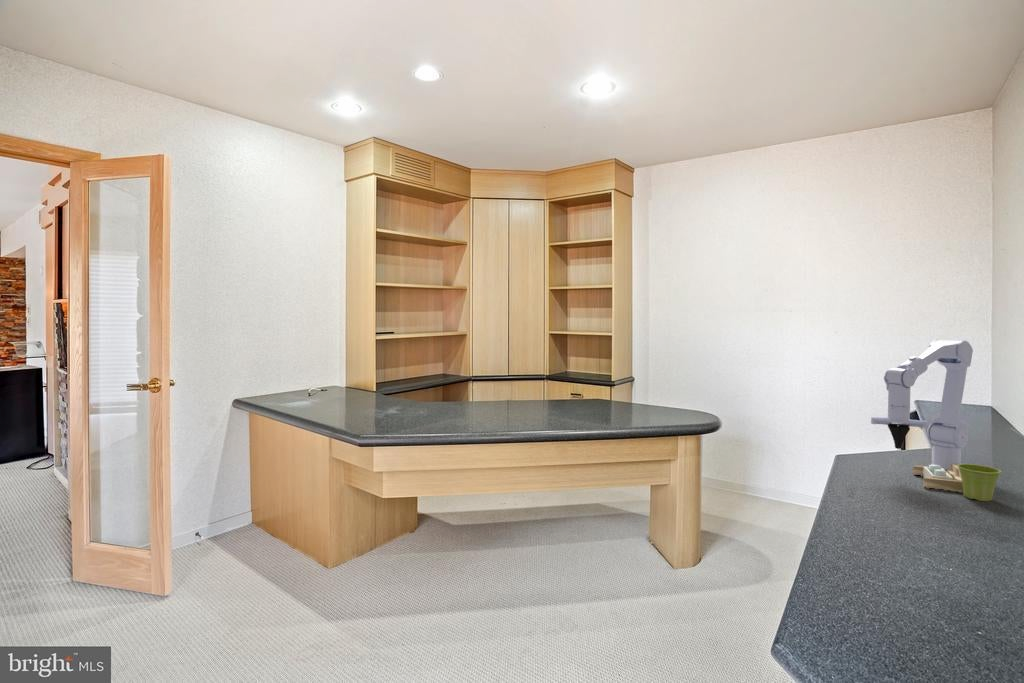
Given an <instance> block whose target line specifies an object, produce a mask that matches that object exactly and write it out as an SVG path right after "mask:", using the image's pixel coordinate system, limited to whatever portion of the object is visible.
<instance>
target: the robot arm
mask: <svg viewBox="0 0 1024 683" xmlns="http://www.w3.org/2000/svg"><path fill="white" fill-rule="evenodd" d="M973 353H974V350H973V347H972V345H971V343H970V342H969V341H967V340H940V339H934V340H933V341H931V342H930V343H929V344H928V348H927V349H926V350H925V351H924V352H923V353H922V354H920V355H919V356H910V357H908V359H907V360H905V361H904V362H903V363H901V364H899V365H898V366H897V367H891V368H889V369H887V370H886V371H885V374H884V376H883V381H884V383H885V385H886V386H885V387H886V388H885V389H886V390H887V391H888V393H887V394H888V396H887V397H888V398H887V417H874V416H873V417H870V419H871V420H870V423H871V424H872V425H887V427H888V430H889V432H890V434H891V436H892V439H893V443H894V448H895V449H899V450H901V449H902V447H903V442H904V440H905V438H906V436H907V435H908V433H909V432H910V429H911V428H910V427H914V428H915V427H917V428H924V429H926V436H927V439H928V440H929V441H930V444H932V448H931V464H934V465H939V466H941V468H945V469H950V463H956V464H961V463H962V462H961V459H962V458H961V455H962V454H961V452H962V448H964V447H965V445H967V443H968V441H969V438H970V436H969V431H968V430H969V428H968V427H969V425H968V424H967V423H966V422H964V420H962V419H961V418H960V414H961V410H962V409H961V408H962V402H963V397H964V392H965V391H964V389H965V384H966V377H967V372H968V368H969V367H971V366H972V365H971V364H972V360H973V359H972V358H973ZM935 362H937V363H938V364H940V365H941V366H943V367H944V368H945V369H946V373H945V377H944V378H945V379H944V384H943V390H942V396H941V397H942V398H941V403H940V410H939V414H938V415H937V416H935V417H933V418H931V419H930V423H929V426H928V421H927V420H920V419H919V420H918V419H911V387H913V386H914V385H915V383H916V380H918V378H919V376H921V375H923V374H924V373H925V372H926V371H927V370H928V368H929V367H928V366H929V365H931V364H933V363H935ZM928 466H929V467H930V464H928V465H927V467H928Z"/></svg>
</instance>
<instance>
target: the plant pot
mask: <svg viewBox="0 0 1024 683" xmlns="http://www.w3.org/2000/svg"><path fill="white" fill-rule="evenodd" d="M957 467H958V468H959V470H960V473H961V478H962V485H963V492H962V493H963V497H965V498H967V499H970V500H973V499H974V500H977V501H980V502H991V501H992V500H993V497H994V493H995V487H996V484H997V480H998V478H999V476H1000V474H1001V473H1002V471H1001V469H998V468H995V467H992V466H986V465H982V464H971V463H960V464H959V465H957Z"/></svg>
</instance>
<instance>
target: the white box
mask: <svg viewBox="0 0 1024 683" xmlns="http://www.w3.org/2000/svg"><path fill="white" fill-rule="evenodd" d="M929 465H930V467H928V466H923V476H922V477H923V478H924V477H927V478H937V479H946V480H953V477H952V476H950V475H949V474H948V473H947V472H946V471H945V470H944V469H943V468H941V466H939V465H934V464H932V463H931V464H929Z"/></svg>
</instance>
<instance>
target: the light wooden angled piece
mask: <svg viewBox="0 0 1024 683" xmlns="http://www.w3.org/2000/svg"><path fill="white" fill-rule="evenodd" d="M957 465H959V464H956V463H950V469H945V468H943V469H944V470H945V471H946V472H947V473H948V474H949V475H950V476H952V477H953V480H946V479H937V478H927V477H923V466H922V465H913V466H912V467H913V468H912V469H913V472H912V475H913V476H915V475H922V476H921V477H923V486H924V487H927V488H926V489H929V488H936V489H935V490H938V489H944V490H943V491H947V490H951V491H950V492H956V491H958V493H963V485H962V478H961V473H960V470H959V468H958V467H957ZM924 487H923V488H924Z"/></svg>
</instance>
